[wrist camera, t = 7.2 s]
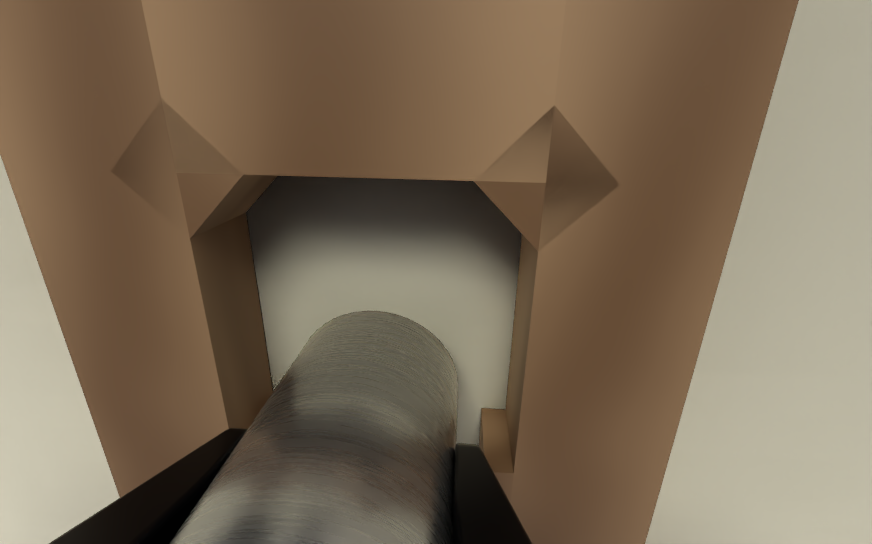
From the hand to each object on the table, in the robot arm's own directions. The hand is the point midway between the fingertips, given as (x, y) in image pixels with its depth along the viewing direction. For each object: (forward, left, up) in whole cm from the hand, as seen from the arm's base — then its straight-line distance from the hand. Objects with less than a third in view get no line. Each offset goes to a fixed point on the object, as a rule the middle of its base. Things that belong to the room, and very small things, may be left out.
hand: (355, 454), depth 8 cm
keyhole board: (0, +2, -3) cm, 4 cm away
